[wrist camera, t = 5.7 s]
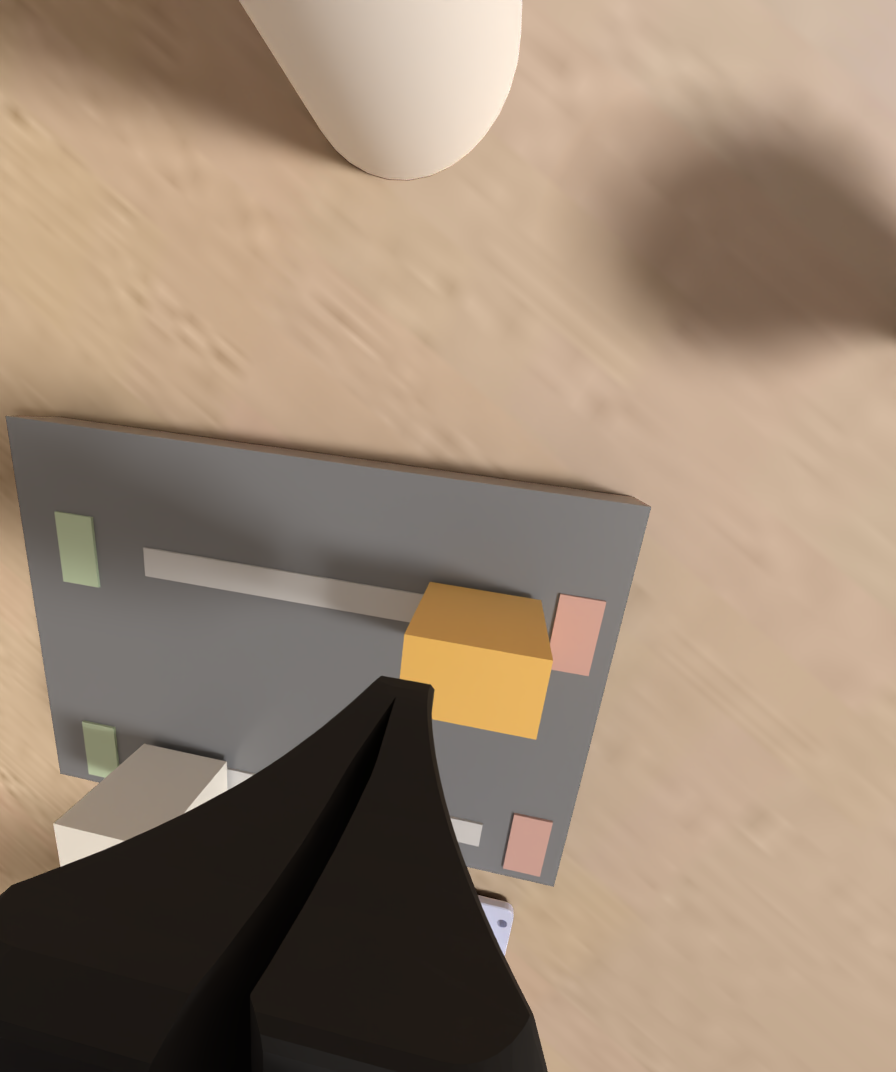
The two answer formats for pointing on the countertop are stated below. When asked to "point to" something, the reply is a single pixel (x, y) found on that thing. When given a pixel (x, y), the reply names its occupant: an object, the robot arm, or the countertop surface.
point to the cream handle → (138, 799)
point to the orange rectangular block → (480, 658)
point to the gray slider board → (307, 607)
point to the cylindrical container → (396, 74)
